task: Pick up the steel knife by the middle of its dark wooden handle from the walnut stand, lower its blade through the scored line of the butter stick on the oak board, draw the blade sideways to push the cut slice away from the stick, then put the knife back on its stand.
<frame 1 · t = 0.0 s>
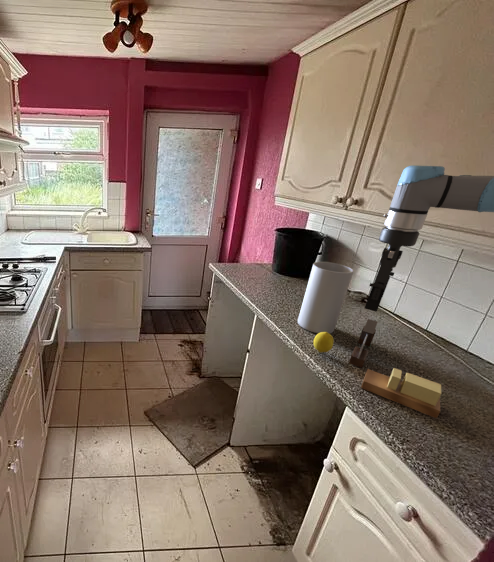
hand: (373, 302, 89), 24 cm above the countertop, tool pointing down, fingers open, 13 cm apart
lemon: (320, 352, 106), on the countertop
board: (397, 395, 87), on the countertop
butter: (417, 394, 84), point 2 cm above the countertop, touching board
cylinder vase: (314, 327, 123), on the countertop
butter slice: (392, 384, 88), point 2 cm above the countertop, touching board
knife stand: (362, 348, 109), on the countertop
knife: (364, 341, 108), point 3 cm above the countertop, touching knife stand
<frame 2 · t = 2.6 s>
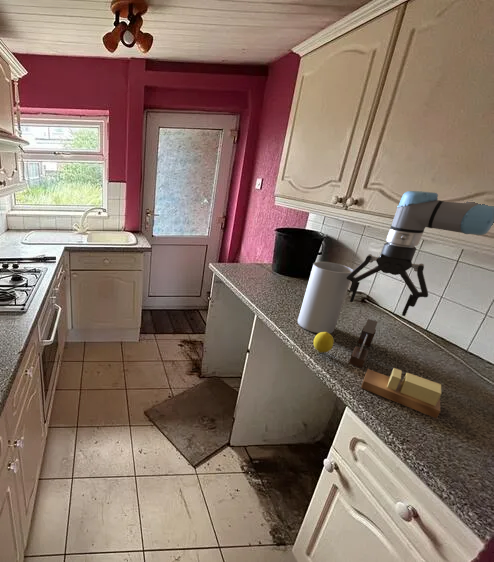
hand: (376, 307, 102), 17 cm above the countertop, tool pointing down, fingers open, 13 cm apart
nothing on the countertop moved.
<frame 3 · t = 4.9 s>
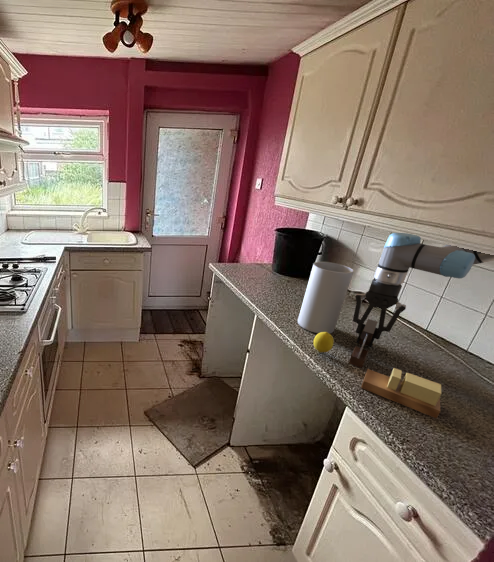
hand: (364, 343, 109), 2 cm above the countertop, tool pointing down, fingers closed on knife, 3 cm apart
knife: (364, 341, 108), point 3 cm above the countertop, touching gripper, knife stand
everything else where it was.
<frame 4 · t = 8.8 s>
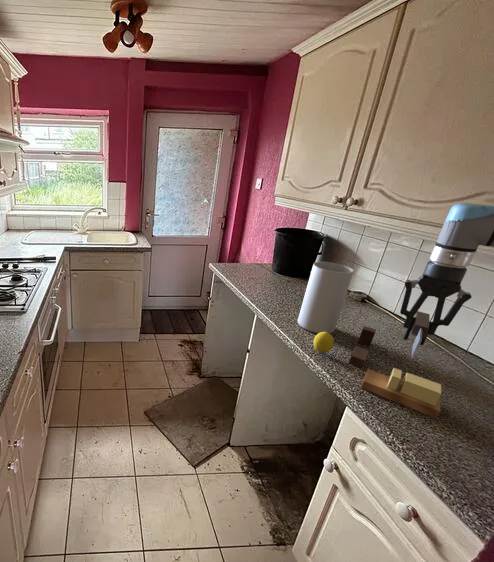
hand: (413, 340, 90), 13 cm above the countertop, tool pointing down, fingers closed on knife, 3 cm apart
knife: (414, 337, 90), point 14 cm above the countertop, touching gripper
everything else where it was.
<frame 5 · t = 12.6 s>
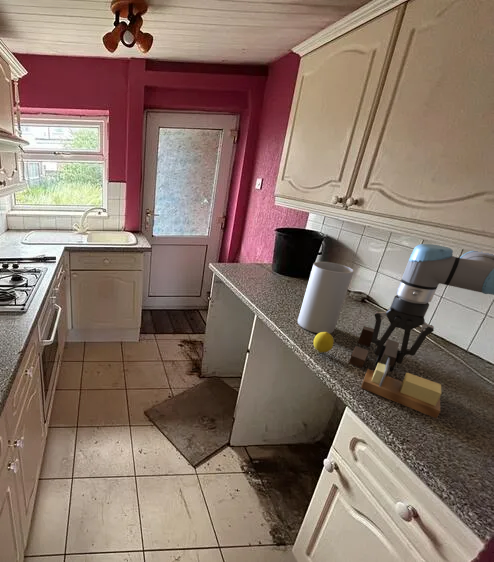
hand: (383, 367, 97), 2 cm above the countertop, tool pointing down, fingers closed on knife, 3 cm apart
butter slice: (376, 378, 90), point 3 cm above the countertop, touching board, knife
knife: (384, 364, 96), point 3 cm above the countertop, touching butter slice, gripper
everything else where it was.
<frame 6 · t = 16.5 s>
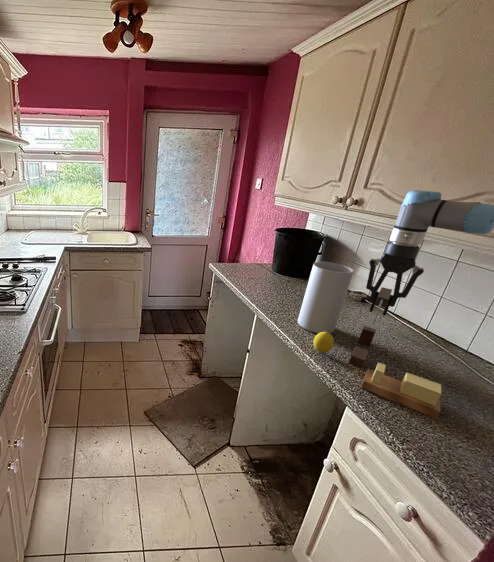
hand: (377, 312, 103), 15 cm above the countertop, tool pointing down, fingers closed on knife, 3 cm apart
butter slice: (376, 378, 90), point 2 cm above the countertop, touching board
knife: (378, 309, 103), point 16 cm above the countertop, touching gripper
everything else where it was.
when the fingers open (2 cm above the countertop, at t = 19.5 s): knife stays where it is, resting on knife stand.
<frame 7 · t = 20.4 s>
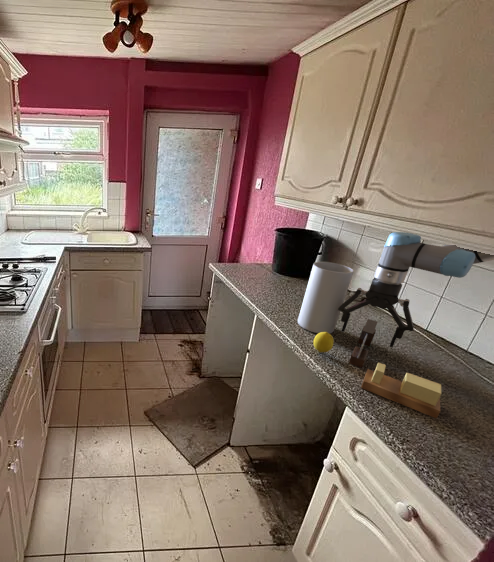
hand: (366, 337, 108), 4 cm above the countertop, tool pointing down, fingers open, 13 cm apart
knife: (364, 341, 108), point 3 cm above the countertop, touching knife stand
everything else where it was.
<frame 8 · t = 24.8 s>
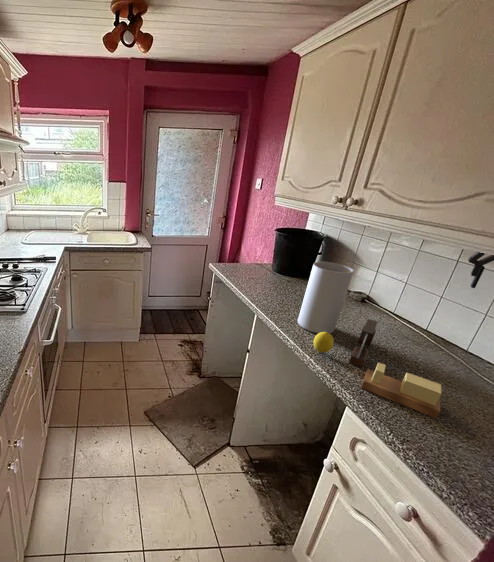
nothing on the countertop moved.
at the end: butter slice 0.8 cm from the target spot on the countertop beside the butter, resting on board; butter moved 0.0 cm from its start; the gripper is holding nothing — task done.
